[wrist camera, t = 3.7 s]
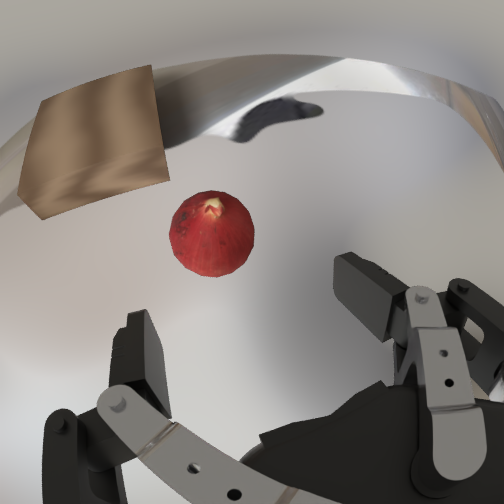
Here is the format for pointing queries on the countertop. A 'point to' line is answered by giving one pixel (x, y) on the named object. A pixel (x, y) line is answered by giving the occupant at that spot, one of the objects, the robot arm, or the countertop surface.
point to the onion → (212, 233)
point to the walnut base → (94, 144)
